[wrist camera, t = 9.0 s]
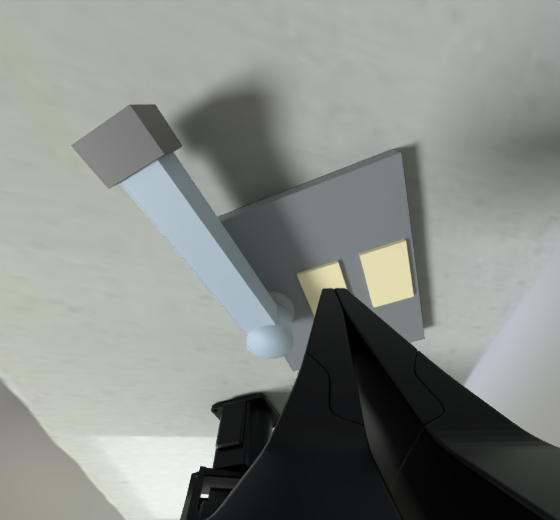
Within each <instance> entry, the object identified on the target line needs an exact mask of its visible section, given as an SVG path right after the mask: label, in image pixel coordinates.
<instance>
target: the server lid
mask: <svg viewBox="0 0 560 520" xmlns="http://www.w3.org/2000/svg"><path fill="white" fill-rule="evenodd" d="M218 219H219V220H220V222H221V223H222V225H223V226H224V228H225V229H226V231H227V232H228V234H229V235H230V237H231V238H232V240H233V241H234V242H235V244H236V245H237V247H238V248H239V250H240V251H241V253H242V254H243V256H244V257H245V259H246V260H247V262H248V263H249V265H250V266H251V268H252V269H253V271H254V272H255V274H256V275H257V276H258V278H259V279H260V281H261V282H262V284H263V285H264V287H265V288H266V290H267V291H268V293H269V294H270V296H271V297H272V299H273V300H274V302H275V303H276V304H279V305H282V306H284V307H285V308H287V309H288V310H289V312H290V313H291V315H292V324H293V338H294V345H293V348H292V349H291V351H290V352H289V353H288V354H286V355H284V356H285V358H286V360H287V362H288V363H289V365H290V367H291V368H292V370H293V371H297V370H300V367H301V364H302V360H303V357H304V354H305V350H306V346H307V343H308V339H309V335H310V332H311V328H312V324H313V321H314V317H315V313H316V310H317V306H318V303H319V299H320V295H321V292H322V289H323V288H333V289H335V288H346V289H347V290H348V291H350V292H351V293H352V294H353V295H354V296H355V297H357V298H358V299H359V300H360V301H361V302H363V303H364V304H365V305H366V306H367V307H368V308H370V309H371V310H372V311H373V312H374V313H375V314H377V315H378V316H379V317H380V318H381V319H382V320H384V321H385V322H386V323H387V324H388V325H389V326H391V327H392V328H393V329H394V330H395V331H396V332H398V333H399V334H400V335H401V336H402V337H404V338H405V339H406V340H407V341H408V342H409V343H410V342H414V341H418V340H422V339H425V337H424V329H423V321H422V313H421V305H420V297H419V289H418V281H417V273H416V265H415V257H414V250H413V242H412V234H411V226H410V218H409V210H408V202H407V194H406V186H405V178H404V170H403V162H402V154H401V152H399V151H396V150H394V149H392V150H389V151H387V152H384V153H381V154H379V155H376V156H374V157H371V158H369V159H366V160H363V161H361V162H358V163H356V164H353V165H350V166H348V167H345V168H343V169H340V170H337V171H335V172H332V173H330V174H327V175H325V176H322V177H319V178H317V179H314V180H312V181H309V182H306V183H304V184H301V185H299V186H296V187H293V188H291V189H288V190H286V191H283V192H281V193H278V194H275V195H273V196H270V197H268V198H265V199H262V200H260V201H257V202H255V203H252V204H250V205H247V206H244V207H242V208H239V209H237V210H234V211H231V212H229V213H226V214H224V215H221V216H218Z"/></svg>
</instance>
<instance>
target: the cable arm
mask: <svg viewBox="0 0 560 520" xmlns="http://www.w3.org/2000/svg"><path fill="white" fill-rule="evenodd" d="M71 146H72V147H73V148H74V150H75V151H76V152H77V153H78V154H79V155H80V156H81V158H82V159H83V160H84V161H85V162H86V163H87V165H88V166H89V167H90V168H91V169H92V170H93V172H94V173H95V174H96V175H97V176H98V177H99V178H100V180H101V181H102V182H103V183H104V184H105V185H106V187H107V188H108V189H109V188H111V187H113V186H115V185H117V184H119V183H120V184H121V185H122V187H123V188H124V189H125V190H126V191H127V193H128V194H129V195H130V196H131V197H132V199H133V200H134V201H135V202H136V204H137V205H138V206H139V207H140V208H141V210H142V211H143V212H144V213H145V214H146V216H147V217H148V218H149V219H150V220H151V222H152V223H153V224H154V225H155V226H156V228H157V229H158V230H159V231H160V232H161V234H162V235H163V236H164V237H165V238H166V240H167V241H168V242H169V243H170V244H171V246H172V247H173V248H174V249H175V250H176V252H177V253H178V254H179V255H180V256H181V258H182V259H183V260H184V261H185V262H186V264H187V265H188V266H189V267H190V269H191V270H192V271H193V272H194V273H195V275H196V276H197V277H198V278H199V279H200V281H201V282H202V283H203V284H204V285H205V287H206V288H207V289H208V290H209V291H210V293H211V294H212V295H213V296H214V297H215V299H216V300H217V301H218V302H219V303H220V305H221V306H222V307H223V308H224V309H225V311H226V312H227V313H228V314H229V315H230V317H231V318H232V319H233V320H234V321H235V323H236V324H237V325H238V326H239V328H240V329H241V330H242V331H243V332H244V334H245V335H246V336H247V338H246V345H247V348H248V349H249V351H250V352H251V353H253V354H254V355H256V356H258V357H261V358H266V359H274V358H279V357H282V356H284V355H286V354H288V353H289V352H290V351H291V349H292V348H293V345H294V338H293V324H292V315H291V313H290V312H289V310H288V309H287V308H285V307H284V306H282V305H279V304H276V303H275V302H274V300H273V299H272V297H271V296H270V294H269V293H268V291H267V290H266V288H265V287H264V285H263V284H262V282H261V281H260V279H259V278H258V276H257V275H256V274H255V272H254V271H253V269H252V268H251V266H250V265H249V263H248V262H247V260H246V259H245V257H244V256H243V254H242V253H241V251H240V250H239V248H238V247H237V245H236V244H235V242H234V241H233V240H232V238H231V237H230V235H229V234H228V232H227V231H226V229H225V228H224V226H223V225H222V223H221V222H220V220H219V219H218V217H217V216H216V214H215V213H214V211H213V210H212V208H211V207H210V206H209V204H208V203H207V201H206V200H205V198H204V197H203V195H202V194H201V192H200V191H199V189H198V188H197V186H196V185H195V183H194V182H193V180H192V179H191V177H190V176H189V174H188V173H187V172H186V170H185V169H184V167H183V166H182V164H181V163H180V161H179V160H178V158H177V157H176V155H175V154H174V151H176V150H177V149H179V148H181V147H182V145H181V143H180V142H179V140H178V139H177V137H176V136H175V134H174V133H173V131H172V129H171V128H170V126H169V125H168V123H167V122H166V120H165V119H164V117H163V116H162V114H161V113H160V111H159V110H158V108H157V106H156V105H128V106H127V107H126V108H124V109H123V110H121V111H120V112H118V113H117V114H116V115H114V116H113V117H111V118H110V119H108V120H107V121H106V122H104V123H103V124H101V125H100V126H98V127H97V128H96V129H94V130H93V131H91V132H90V133H88V134H87V135H85V136H84V137H83V138H81V139H80V140H78V141H77V142H75V143H74V144H73V145H71Z"/></svg>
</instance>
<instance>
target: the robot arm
mask: <svg viewBox="0 0 560 520" xmlns="http://www.w3.org/2000/svg"><path fill="white" fill-rule="evenodd" d="M211 411H212V412H213V413H214V414H215V416H216V417H217V418H218V419H219V420H220V424H219V429H218V435H217V441H216V451H215V457H214V462H213V468H206V467H203V466H200V470H199V472H196V473H193V474H192V475H191V479H190V484H189V488H188V492H187V496H186V500H185V504H184V508H183V511H182V515H181V519H180V520H560V448H559V447H556V446H553V445H551V444H549V443H547V442H545V441H543V440H541V439H539V438H537V437H535V436H533V435H531V434H530V433H528V432H526V431H525V430H523V429H522V428H520V427H519V426H517V425H516V424H515V423H513V422H512V421H510V420H509V419H508V418H506V417H505V416H504V415H502V414H501V413H499V412H498V411H497V410H495V409H494V408H493V407H491V406H490V405H488V404H487V403H486V402H484V401H483V400H482V399H480V398H479V397H478V396H476V395H475V394H473V393H472V392H471V391H469V390H468V389H467V388H465V387H464V386H463V385H461V384H460V383H459V382H457V381H456V380H455V379H453V378H452V377H451V376H449V375H448V374H447V373H445V372H444V371H443V370H442V369H440V368H439V367H438V366H437V365H436V364H434V363H433V362H432V361H431V360H429V359H428V358H427V357H426V356H425V355H424V354H422V353H421V352H420V351H417V349H416V348H415V347H414V346H413V345H412V344H411V343H409V342H408V341H407V340H406V339H405V338H404V337H402V336H401V335H400V334H399V333H398V332H396V331H395V330H394V329H393V328H392V327H391V326H389V325H388V324H387V323H386V322H385V321H384V320H382V319H381V318H380V317H379V316H378V315H377V314H375V313H374V312H373V311H372V310H371V309H370V308H368V307H367V306H366V305H365V304H364V303H363V302H361V301H360V300H359V299H358V298H357V297H355V296H354V295H353V294H352V293H351V292H350V291H348V290H347V289H346V288H335V289H333V288H323V289H322V292H321V295H320V299H319V303H318V306H317V310H316V313H315V317H314V321H313V324H312V328H311V332H310V335H309V339H308V343H307V346H306V350H305V354H304V357H303V360H302V364H301V367H300V370H299V373H298V376H297V379H296V381H295V384H294V386H293V388H292V391H291V393H290V395H289V397H288V400H287V402H286V404H285V406H284V408H283V411H282V413H281V415H280V416H279V414H278V413H277V411H276V410H275V409H274V407H273V406H272V405H271V403H270V402H269V401H268V399H267V398H266V397H265V395H263V394H258V395H253V396H249V397H245V398H241V399H236V400H232V401H228V402H224V403H219V404H215V405H213V406H212V408H211ZM274 427H275V428H274ZM273 428H274V430H273ZM272 431H273V432H272ZM201 494H209V497H208V498H201Z"/></svg>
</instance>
